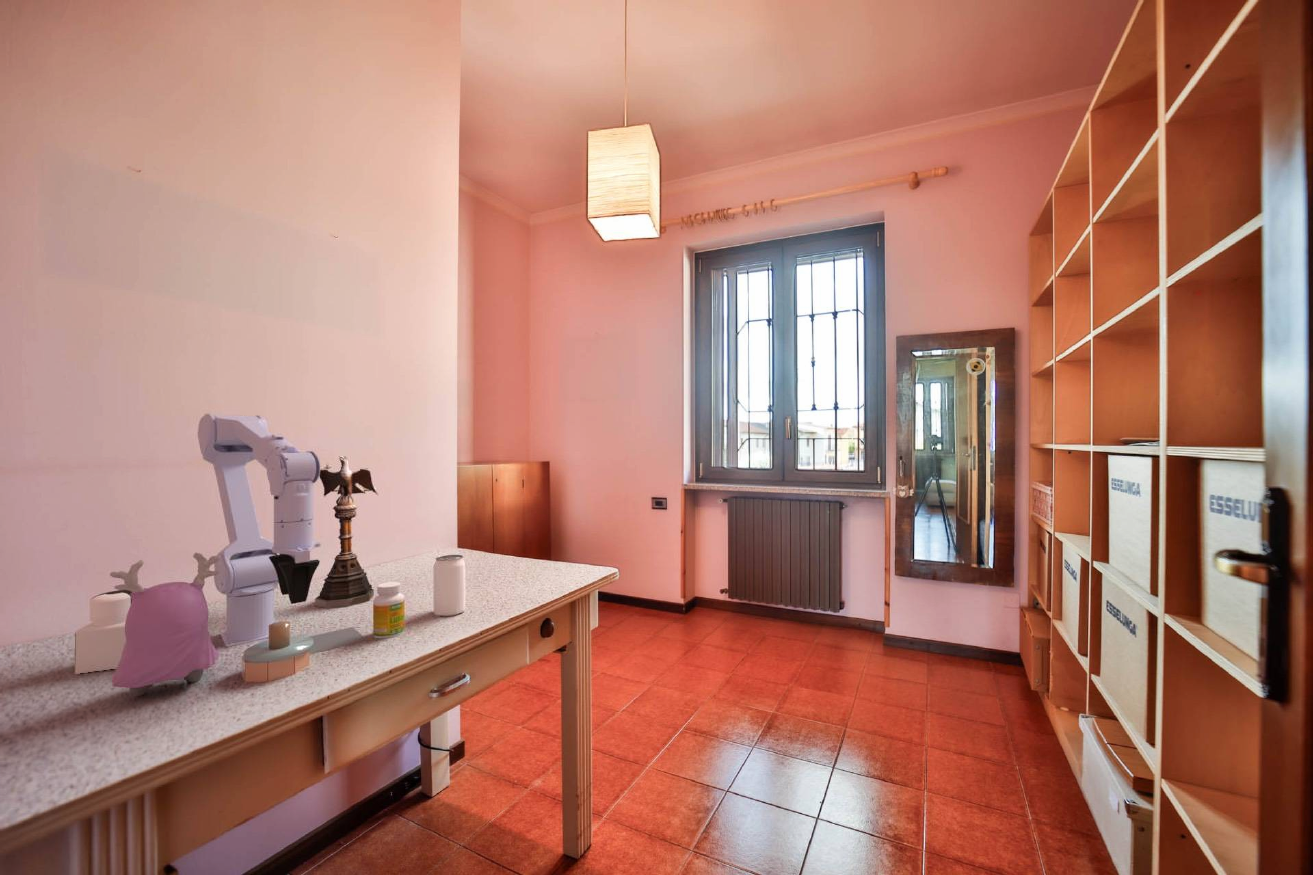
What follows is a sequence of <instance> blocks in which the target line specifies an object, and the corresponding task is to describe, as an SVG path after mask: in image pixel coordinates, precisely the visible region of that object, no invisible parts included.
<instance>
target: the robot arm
mask: <svg viewBox="0 0 1313 875" xmlns="http://www.w3.org/2000/svg"><path fill="white" fill-rule="evenodd" d="M197 440H198V443H199V444H198V445H199V448H200V453H201V454H202V459H203V461H205V462H208V463H210V464H212V465H213V469H214V473H215V477H216V482H217V487H218V491H219V497H220V501H221V502H220V503H221V507H222V512H223V516H224V522H225V528H226V532H227V537H228V542H229V544H228V545H226V546H225V547H224V548H223V549H221V550H220V551H219V552H218V553H217V554H216V556H218V557H219V558H220V559H219V560H218V561H217V562H216V563H214V564H213V565H214V566H213V567H214V568H213V569H214V571H220V573H219V574H217V575H214V576H213V580H214V581H213V582H214V585H215V588H216V590H217V591H218V592H219V593H221V594H222V595H225V596H226V630H225V631H224V632H221V633H220V637H221V639H222V641H223V644H224V646H225V648H226V647H227V648H229V647H230V648H231V647H234V646H238V645H243V644H248V643H253V642H257V641H262V640H266V639H269V625H270V624H273V623H275V589H276V588H277V589H278V588H279V589H280V592H281V593H280V594H282V596H285V595H288V598H289V601H290V604H291V605H293V604H299V603H305V602H307V600H308V596H309V592H310V587H311V583H312V580H313V577H314V575H315V572H316V570H317V568H318V567H319V565H320V563H321V562H320V560H319V559H311V552H312V551H313V550H314V549H315V548H319V547H321V546H322V543H321V541H314V484H315V483H317V481H318V480H319V479H320V476H319V475H320V469H321V462H320V459H319V458H320V457H319V456H318V455H317V454H316V452H314V451H313V450H312V451H311V450H309V451H305V452H304V451H301V450H300V449H298V448H297V447H296V446H295V445H293V444H292V443H290V442H289V441H288V440H287V439H285V436H284V435H283V434H281V433H280V434H279V433H277V434H271V433H270V432H269V427H268V423H267V420H266V419H265V418H264V417H263V416H262V415H236V414H235V415H233V414H212V413H205V414H204V415H203V416H201V418H200V419H199V423H198V428H197ZM254 460H256V461H257V462H258V463H259V464H260V465H261V466H262V467H263V468H265V469H266V476H267V480H268V483H269V492H270V495H271V496H273V541H272V540H269V539H267V538H265V537H263V536H262V534H261V530H260V525H259V521H258V515H257V512H256V506H255V502H254V497H253V492H252V489H251V488H252V487H251V484H250V479H249V478H250V477H249V476H248V474H249V473H248V470H247V464H248V463H250V462H252V461H254Z"/></svg>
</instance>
